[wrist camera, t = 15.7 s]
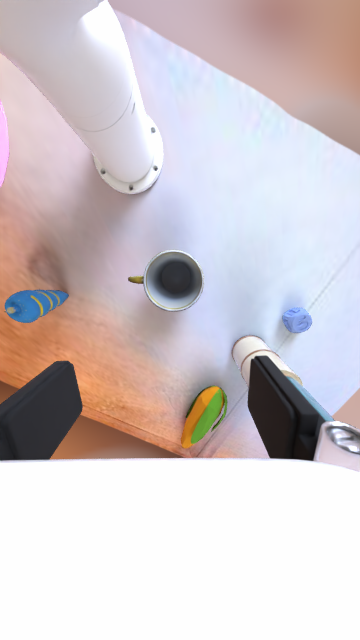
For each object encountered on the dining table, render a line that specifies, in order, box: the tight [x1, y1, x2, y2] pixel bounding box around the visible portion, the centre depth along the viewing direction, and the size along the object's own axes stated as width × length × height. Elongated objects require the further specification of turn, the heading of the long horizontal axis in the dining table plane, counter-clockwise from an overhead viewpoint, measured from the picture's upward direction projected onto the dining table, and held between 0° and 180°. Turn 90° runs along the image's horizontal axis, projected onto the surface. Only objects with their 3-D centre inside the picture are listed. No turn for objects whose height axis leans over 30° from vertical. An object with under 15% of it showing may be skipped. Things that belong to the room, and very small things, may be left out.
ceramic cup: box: [128, 250, 204, 312], centre depth 36 cm, size 13×10×10 cm
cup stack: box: [232, 335, 303, 388], centre depth 38 cm, size 8×8×15 cm
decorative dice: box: [283, 308, 312, 333], centre depth 41 cm, size 4×4×4 cm
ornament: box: [5, 290, 69, 323], centre depth 36 cm, size 5×5×15 cm
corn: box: [181, 386, 227, 448], centre depth 47 cm, size 7×8×20 cm
